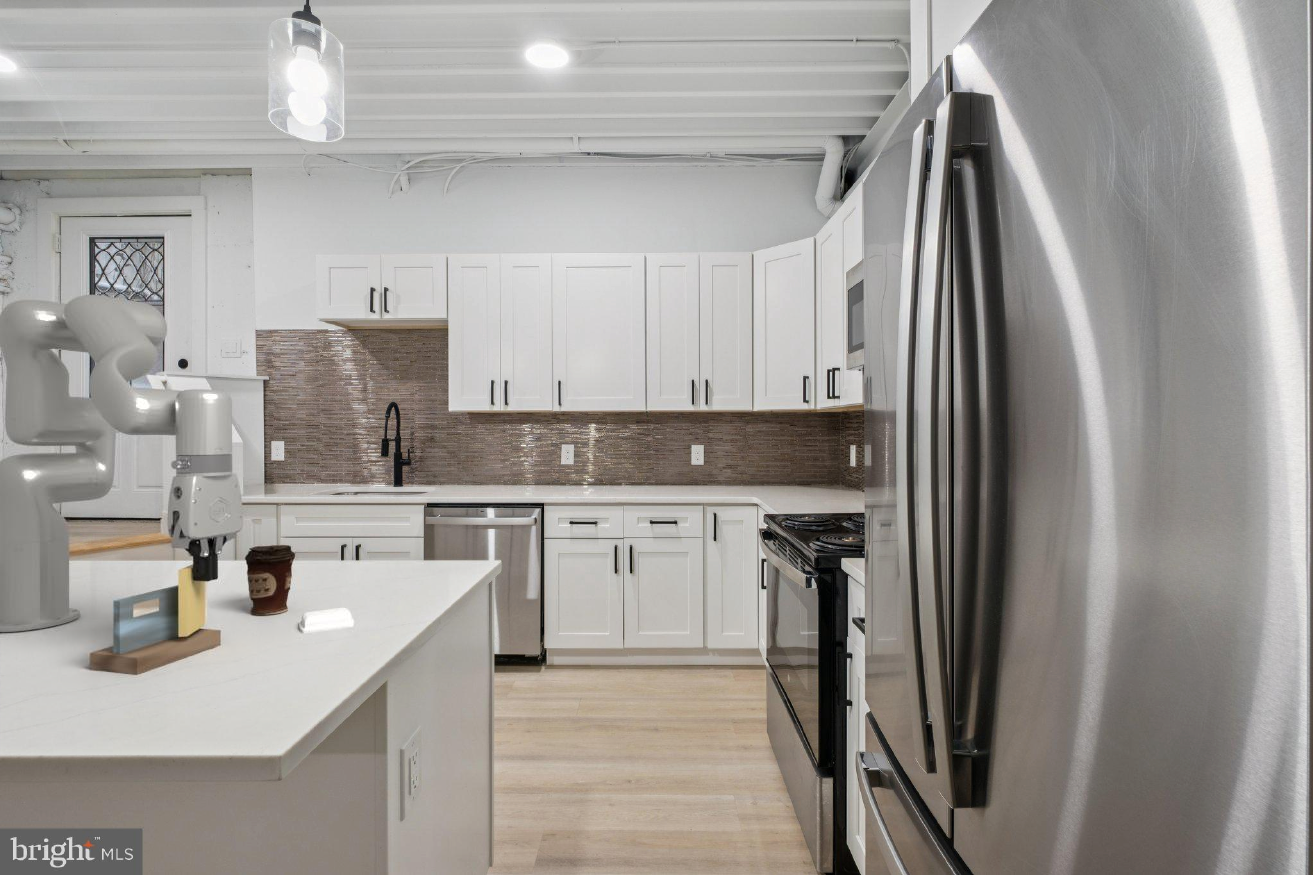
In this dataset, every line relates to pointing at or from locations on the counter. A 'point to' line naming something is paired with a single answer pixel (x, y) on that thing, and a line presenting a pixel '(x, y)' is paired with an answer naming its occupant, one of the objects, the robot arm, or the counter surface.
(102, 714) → the counter surface
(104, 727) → the counter surface
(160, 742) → the counter surface
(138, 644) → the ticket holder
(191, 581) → the yellow flat slab
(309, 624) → the soap
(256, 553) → the coffee cup
